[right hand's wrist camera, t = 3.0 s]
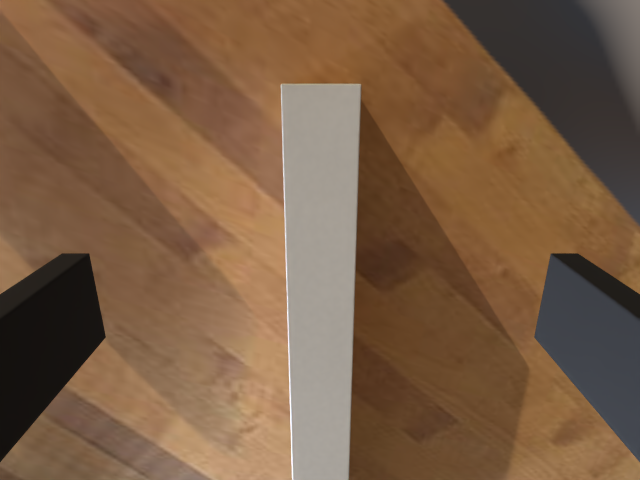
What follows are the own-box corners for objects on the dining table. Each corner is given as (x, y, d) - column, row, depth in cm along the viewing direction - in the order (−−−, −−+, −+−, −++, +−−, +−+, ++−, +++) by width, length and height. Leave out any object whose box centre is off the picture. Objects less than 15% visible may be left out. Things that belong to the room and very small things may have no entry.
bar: (289, 83, 34) (280, 83, 27) (351, 83, 34) (361, 83, 27) (300, 548, 53) (296, 629, 45) (340, 548, 53) (344, 629, 45)
